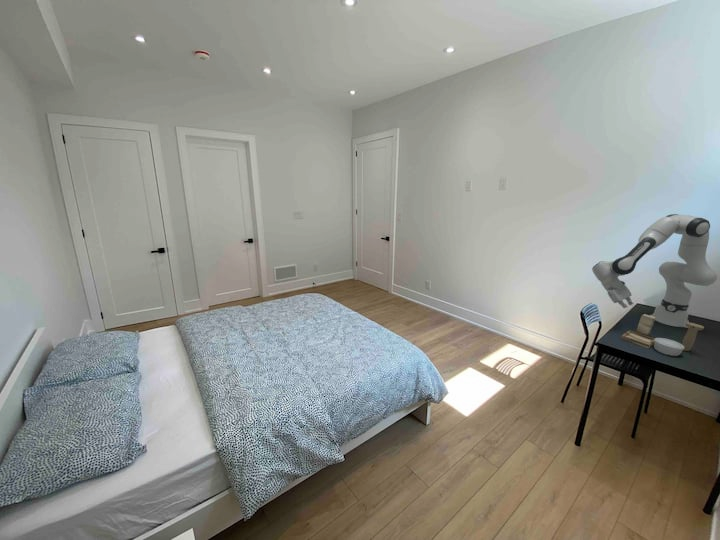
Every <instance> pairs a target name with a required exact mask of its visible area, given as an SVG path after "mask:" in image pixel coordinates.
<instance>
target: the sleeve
mask: <svg viewBox="0 0 720 540" xmlns="http://www.w3.org/2000/svg"><path fill="white" fill-rule="evenodd" d="M649 315H650V314H649ZM649 315H648V314H646V313H644V314H642V315H641V316H640V319H639V321H638V324H637V327H636V331H635V332H637V333H640V334H643V335H646V336H649V337H650V334H651V332H652V329H653V326H654V322H655V321H656V320H655V318H656V317H653V316H649Z"/></svg>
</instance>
